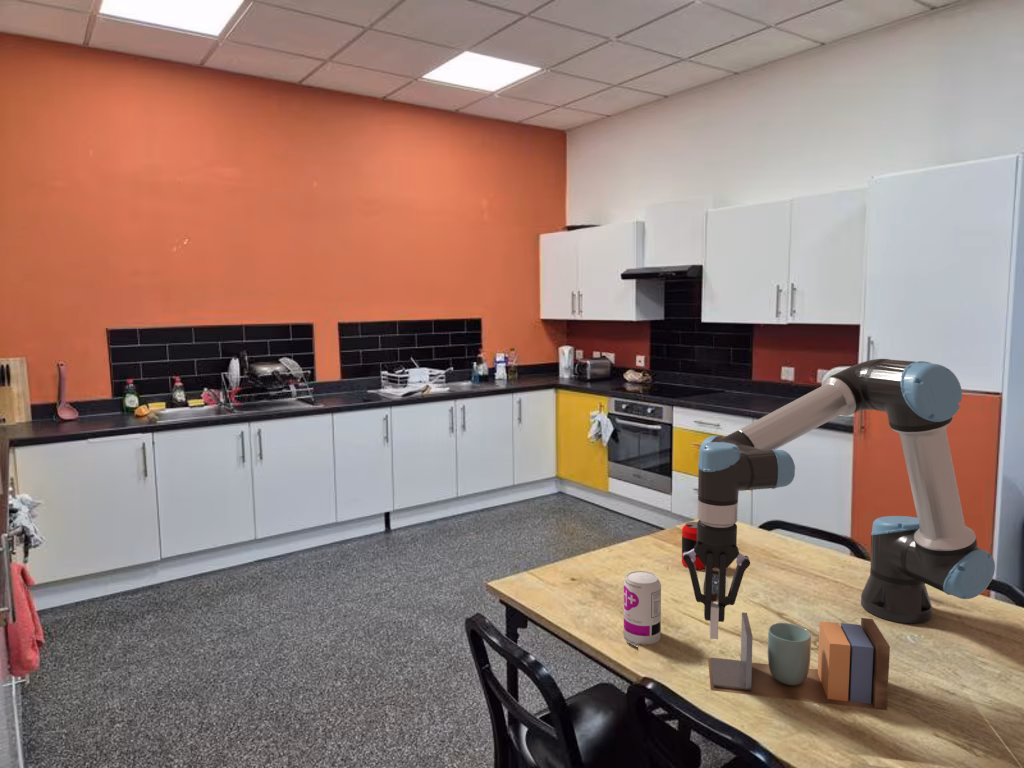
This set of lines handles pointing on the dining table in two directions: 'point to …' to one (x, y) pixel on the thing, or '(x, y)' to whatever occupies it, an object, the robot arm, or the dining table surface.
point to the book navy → (859, 663)
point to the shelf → (812, 685)
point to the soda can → (690, 542)
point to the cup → (789, 653)
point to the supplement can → (642, 608)
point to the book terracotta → (833, 660)
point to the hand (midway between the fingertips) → (713, 635)
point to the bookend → (735, 663)
